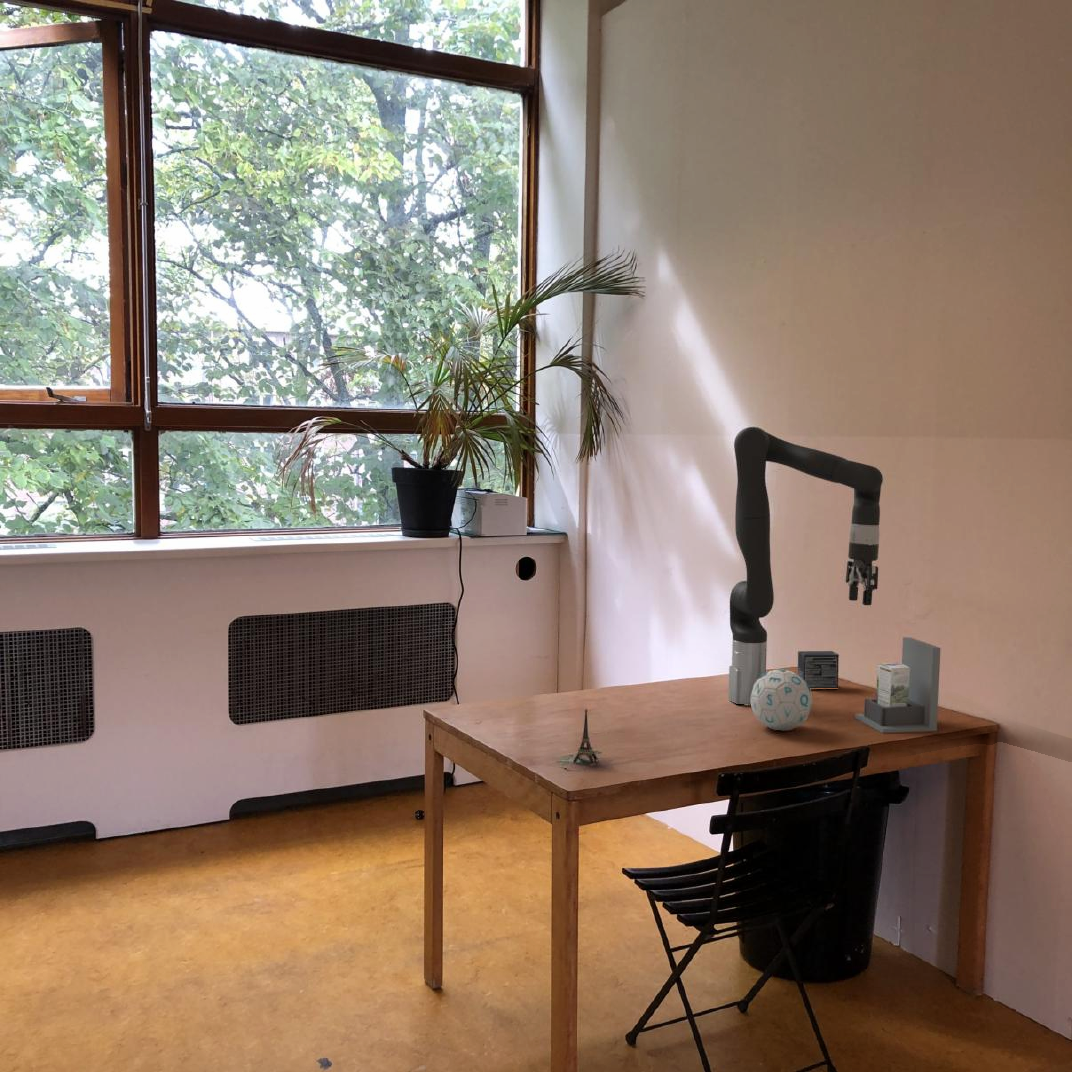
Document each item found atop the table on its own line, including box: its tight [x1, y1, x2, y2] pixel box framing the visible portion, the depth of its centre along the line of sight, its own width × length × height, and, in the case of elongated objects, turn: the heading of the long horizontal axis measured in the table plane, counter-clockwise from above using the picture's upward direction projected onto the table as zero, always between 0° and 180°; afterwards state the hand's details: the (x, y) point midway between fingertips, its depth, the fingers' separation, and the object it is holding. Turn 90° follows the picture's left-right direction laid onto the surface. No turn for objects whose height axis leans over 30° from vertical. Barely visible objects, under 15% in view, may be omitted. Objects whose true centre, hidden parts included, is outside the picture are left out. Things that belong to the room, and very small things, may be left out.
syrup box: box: [875, 662, 910, 707], centre depth 277 cm, size 6×6×14 cm
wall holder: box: [854, 636, 941, 734], centre depth 278 cm, size 14×15×21 cm
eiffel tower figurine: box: [555, 708, 603, 772], centre depth 243 cm, size 15×10×13 cm
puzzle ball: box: [750, 669, 813, 732], centre depth 272 cm, size 15×15×15 cm
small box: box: [797, 650, 840, 689], centre depth 319 cm, size 11×6×10 cm, turn 94°
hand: (859, 602), depth 288 cm, fingers open, 8 cm apart
